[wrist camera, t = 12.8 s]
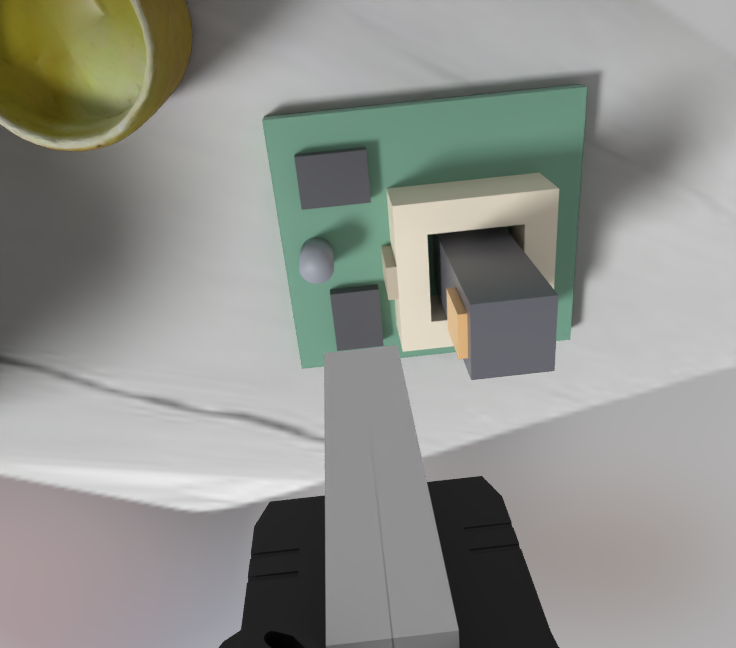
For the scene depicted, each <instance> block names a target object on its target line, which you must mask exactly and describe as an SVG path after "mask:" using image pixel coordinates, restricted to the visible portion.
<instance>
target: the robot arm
mask: <svg viewBox="0 0 736 648" xmlns="http://www.w3.org/2000/svg"><path fill="white" fill-rule="evenodd" d="M324 396H325V496H317V497H308V498H299V499H291V500H281V501H272V502H269V504H268V506H267V507H266V509H265V510H264V512H263V514H262V515H261V517H260V518H259V520H258V522H257V523H256V525H255V526H254V533H253V541H252V549H251V559H250V565H249V572H248V583H247V588H246V597H245V604H244V612H243V619H242V627H241V630H240V631H239V632H237V633H236V634H234V635H233V636H232V637H230V638H228V639H227V640H225V641H224V642H223V643H222V644H221V645H220V647H219V648H559V647H558V645H557V643H556V641H555V639H554V637H553V635H552V633H551V631H550V628H549V626H548V623H547V620H546V617H545V615H544V612H543V609H542V606H541V603H540V601H539V598H538V595H537V592H536V590H535V587H534V584H533V581H532V578H531V576H530V573H529V570H528V567H527V564H526V562H525V559H524V556H523V553H522V551H521V549H520V547H519V542H518V539H517V537H516V534H515V531H514V528H513V527H512V525H511V520H510V517H509V515H508V512H507V509H506V506H505V503H504V500H503V498H502V496H501V495H500V494H499V493H498V492H497V491H496V490H495V489H494V488H493V487H492V486H491V485H490V484H489V483H488V482H487V481H486V480H485V479H484V478H483V477H482V476H478V477H469V478H461V479H452V480H442V481H433V482H427V480H426V476H425V471H424V466H423V462H422V457H421V453H420V448H419V443H418V439H417V434H416V429H415V425H414V420H413V415H412V411H411V406H410V401H409V397H408V392H407V388H406V383H405V378H404V374H403V369H402V364H401V360H400V355H399V350H398V346H397V345H395V346H385V347H376V348H367V349H358V350H349V351H339V352H330V353H324Z"/></svg>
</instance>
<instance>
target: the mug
mask: <svg viewBox="0 0 736 648" xmlns="http://www.w3.org/2000/svg"><path fill="white" fill-rule="evenodd" d="M192 38H193V35H192V26H191V18H190V14H189V10H188V6H187V3H186V1H185V0H0V125H2V126H3V127H5V128H6V129H8V130H9V131H11V132H12V133H14V134H15V135H17V136H19V137H20V138H22V139H24V140H27V141H30V142H32V143H34V144H37V145H40V146H43V147H46V148H50V149H53V150H65V151H85V150H92V149H99V148H102V147H106V146H109V145H111V144H114V143H116V142H118V141H121V140H122V139H124V138H125V137H127V136H128V135H130V134H131V133H133V132H134V131H135V130H137V129H138V128H139V127H140V126H142V125H143V124H144V123H145V122H146V121H147V120H148V119H149V118H150V117H151V116H153V115H154V114H155V113H156V111H157V110H158V109H159V108H160V107H161V106H162V105H163V104H164V102H165V101H166V100H167V99H168V98H169V97H170V96H171V94H172V93H173V92H174V91H175V89H176V88H177V87H178V85H179V84H180V82H181V80H182V78H183V76H184V74H185V71H186V69H187V66H188V63H189V60H190V55H191V49H192Z"/></svg>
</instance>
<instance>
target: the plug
mask: <svg viewBox="0 0 736 648" xmlns="http://www.w3.org/2000/svg"><path fill="white" fill-rule="evenodd" d="M433 252H434V275H435V288H436V290H437V293H438V296H439V298H440V301H441V303H442V306H443V308H444V311H445V314H446V316H447V320H448V332H449V335H450V337H451V340H452V342H453V345H454V348H455V350H456V353H457V356H458V358H459V359H463V360H464V362H465V365H466V368H467V370H468V373H469V375H470V378H471V380H476V379H485V378H494V377H503V376H512V375H521V374H530V373H539V372H549V371H554V368H555V350H556V332H557V314H558V296H559V295H558V294H557V293H556V291H555V290H554V289H553V288H552V286H551V285H550V284H549V283H548V281H547V280H546V279H545V277H544V276H543V275H542V274H541V272H540V271H539V270H538V269H537V267H536V266H535V265H534V264H533V262H532V261H531V260H530V259H529V257H528V256H527V255H526V253H525V252H524V251H523V250H522V248H521V247H520V246H519V245H518V243H517V242H516V241H515V240H514V238H513V237H512V236H511V234H510V233H509V232H508V231H507V229H506V228H505V227H494V228H485V229H475V230H466V231H457V232H447V233H438V234H433Z"/></svg>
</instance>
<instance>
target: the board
mask: <svg viewBox="0 0 736 648" xmlns="http://www.w3.org/2000/svg"><path fill="white" fill-rule="evenodd" d="M586 98H587V87H586V86H583V85H580V84H578V85H568V86H558V87H548V88H539V89H529V90H519V91H509V92H499V93H490V94H480V95H470V96H460V97H451V98H441V99H431V100H421V101H412V102H402V103H392V104H382V105H372V106H363V107H353V108H343V109H333V110H324V111H314V112H304V113H294V114H285V115H275V116H265V117H264V118H263V120H262V121H263V127H264V134H265V140H266V146H267V152H268V159H269V165H270V171H271V177H272V184H273V190H274V196H275V202H276V209H277V215H278V221H279V228H280V234H281V240H282V246H283V253H284V259H285V265H286V271H287V278H288V284H289V290H290V296H291V303H292V309H293V315H294V321H295V328H296V334H297V340H298V347H299V353H300V359H301V365H302V369H303V368H313V367H322V366H324V353H330V352H339V351H349V350H358V349H367V348H376V347H385V346H395V345H397V346H398V350H399V355H400V358H404V357H414V356H423V355H432V354H441V353H450V352H456V350H455V348H454V345H453V342H452V340H451V337H450V335H449V332H448V320H447V316H446V314H445V311H444V308H443V306H442V303H441V301H440V298H439V296H438V293H437V290H436V288H435V275H434V252H433V234H438V233H447V232H457V231H466V230H475V229H485V228H494V227H505V228H506V229H507V231H508V232H509V233H510V234H511V236H512V237H513V238H514V240H515V241H516V242H517V243H518V245H519V246H520V247H521V248H522V250H523V251H524V252H525V253H526V255H527V256H528V257H529V259H530V260H531V261H532V262H533V264H534V265H535V266H536V267H537V269H538V270H539V271H540V272H541V274H542V275H543V276H544V277H545V279H546V280H547V281H548V283H549V284H550V285H551V286H552V288H553V289H554V290H555V291H556V293H557V294H558V295H559V296H558V314H557V332H556V341H561V340H570V334H571V319H572V304H573V289H574V275H575V260H576V245H577V230H578V216H579V201H580V186H581V172H582V157H583V142H584V127H585V113H586Z"/></svg>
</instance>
